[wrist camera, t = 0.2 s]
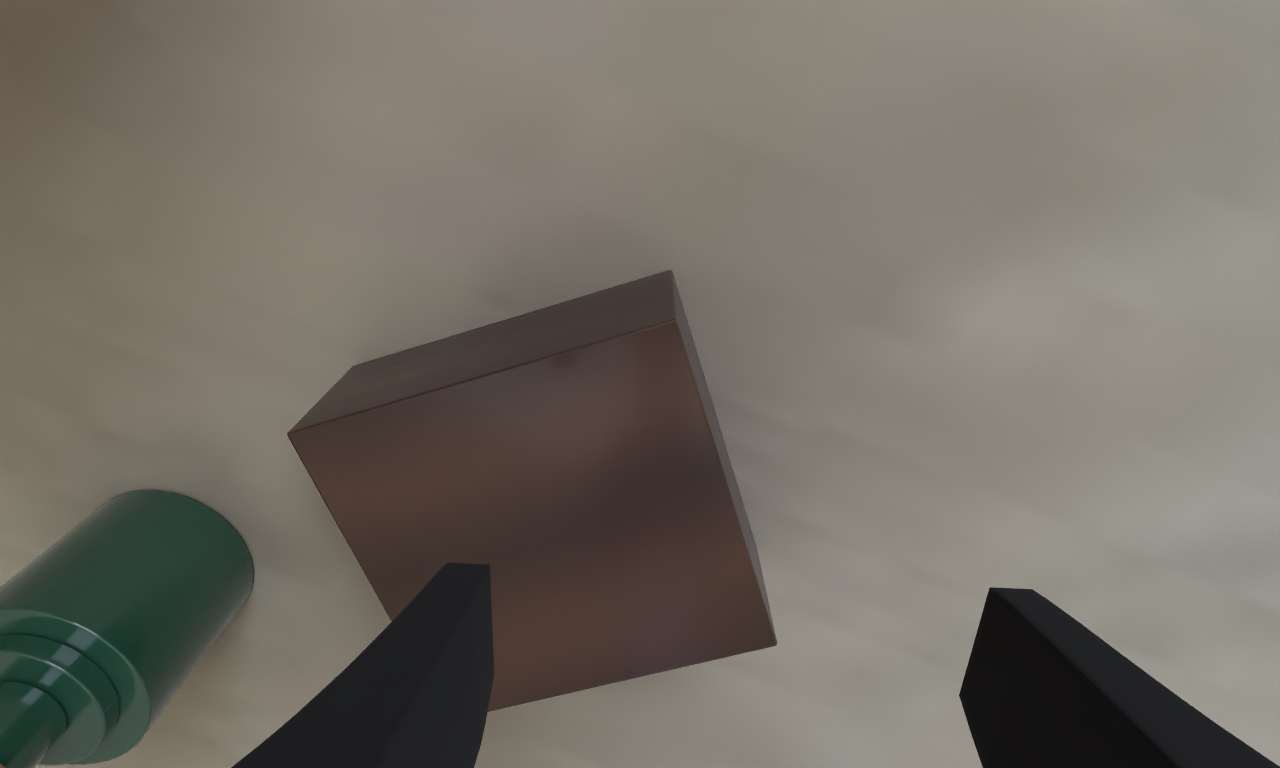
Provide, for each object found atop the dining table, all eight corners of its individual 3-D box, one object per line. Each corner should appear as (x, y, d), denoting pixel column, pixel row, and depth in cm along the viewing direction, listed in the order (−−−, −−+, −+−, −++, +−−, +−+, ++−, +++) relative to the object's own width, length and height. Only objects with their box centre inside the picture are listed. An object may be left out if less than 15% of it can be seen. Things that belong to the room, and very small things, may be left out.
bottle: (266, 627, 24) (94, 880, 16) (108, 620, 24) (-134, 870, 16) (239, 492, 22) (30, 712, 14) (68, 485, 22) (-229, 700, 14)
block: (757, 550, 22) (778, 646, 19) (478, 618, 24) (447, 722, 20) (671, 268, 19) (676, 319, 15) (351, 365, 20) (285, 433, 17)
